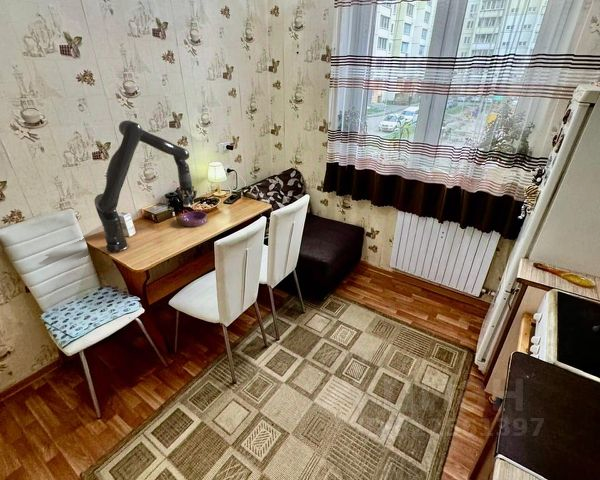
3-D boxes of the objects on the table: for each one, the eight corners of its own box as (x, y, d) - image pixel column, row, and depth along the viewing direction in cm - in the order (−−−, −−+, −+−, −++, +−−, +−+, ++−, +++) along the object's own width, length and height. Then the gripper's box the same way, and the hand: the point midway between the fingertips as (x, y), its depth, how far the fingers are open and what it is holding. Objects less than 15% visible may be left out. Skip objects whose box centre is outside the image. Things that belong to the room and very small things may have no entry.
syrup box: (136, 233, 198) (130, 212, 191) (129, 237, 193) (123, 216, 186) (129, 231, 199) (123, 211, 193) (122, 235, 194) (115, 215, 188)
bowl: (201, 228, 206) (200, 222, 204) (177, 226, 208) (176, 220, 206) (211, 217, 221) (210, 212, 219) (188, 216, 223) (187, 210, 221)
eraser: (188, 207, 201) (187, 201, 199) (183, 206, 202) (182, 200, 200) (193, 202, 208) (193, 197, 206) (188, 202, 209) (188, 196, 207)
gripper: (171, 180, 194) (176, 205, 202) (193, 182, 193) (196, 207, 201) (177, 177, 201) (181, 201, 209) (197, 178, 199) (201, 203, 208)
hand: (188, 204), depth 205 cm, fingers closed on eraser, 3 cm apart
